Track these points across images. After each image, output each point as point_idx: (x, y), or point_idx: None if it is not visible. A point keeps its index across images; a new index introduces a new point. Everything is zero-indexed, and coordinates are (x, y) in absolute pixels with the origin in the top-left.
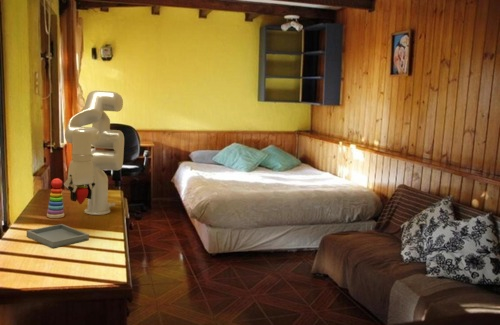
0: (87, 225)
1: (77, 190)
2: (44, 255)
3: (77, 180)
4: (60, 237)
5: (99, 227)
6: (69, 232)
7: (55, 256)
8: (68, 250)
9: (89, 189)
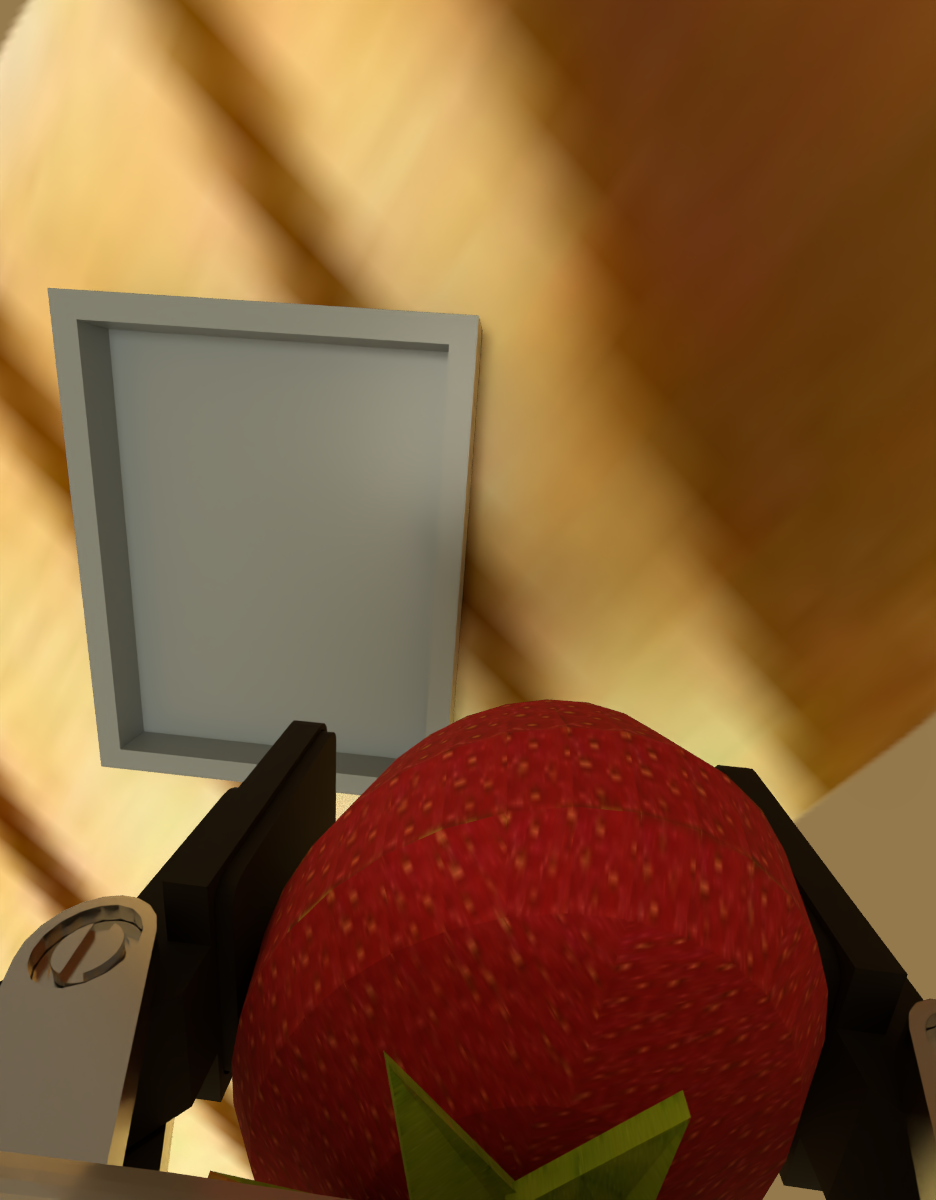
0: (776, 397)
1: (251, 1157)
2: (31, 807)
3: None
4: (283, 605)
5: (799, 551)
6: (430, 536)
7: (79, 868)
8: None
9: (820, 1155)
